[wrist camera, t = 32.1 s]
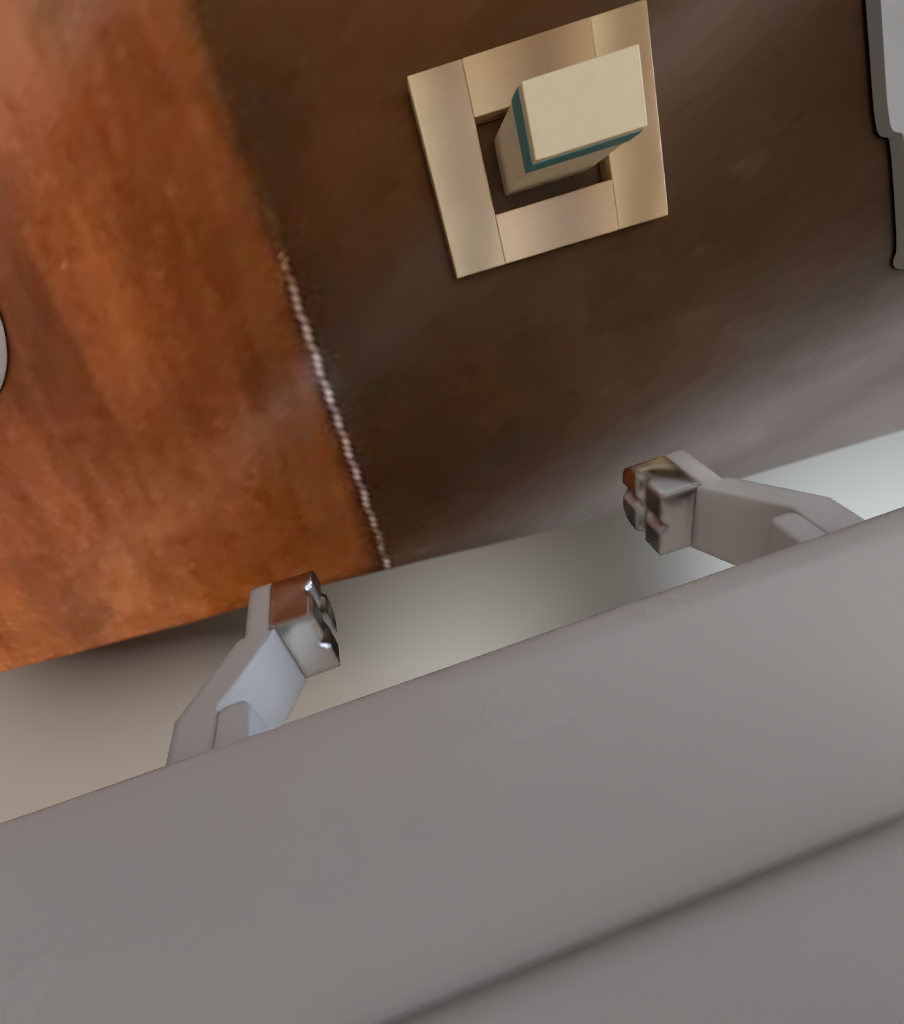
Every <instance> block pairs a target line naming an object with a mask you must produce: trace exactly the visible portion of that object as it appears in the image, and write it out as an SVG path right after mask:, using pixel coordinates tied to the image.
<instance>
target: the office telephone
mask: <svg viewBox="0 0 904 1024" xmlns="http://www.w3.org/2000/svg"><path fill="white" fill-rule="evenodd" d="M866 11H867V25H868V39H869V52H870V66H871V80H872V94H873V107H874V115H875V122H876V128H877V132H878V134H879V135H880V136H881V137H887V138H888V139H889V142H890V149H891V158H892V171H893V185H894V199H895V218H896V237H897V248H896V254H895V257H894V260H893V265H894V266H895V268H897V269H904V0H866Z"/></svg>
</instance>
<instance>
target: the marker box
mask: <svg viewBox="0 0 904 1024" xmlns="http://www.w3.org/2000/svg"><path fill="white" fill-rule="evenodd" d="M511 102H512V103H511V105H510V107H509V110H508V112H507V114H506V116H505V118H504V120H503V122H502V124H501V126H500V129H499V131H498V133H497V135H496V137H495V139H494V146H495V151H496V155H497V160H498V165H499V170H500V175H501V179H502V184H503V189H504V194H505V196H509V195H512V194H515V193H519V192H522V191H525V190H528V189H531V188H535V187H538V186H541V185H544V184H548V183H551V182H554V181H557V180H560V179H564V178H567V177H570V176H573V175H576V174H580V173H583V172H586V171H587V170H589V169H590V168H591V167H593V166H594V165H595V164H597V163H598V162H599V161H601V160H602V159H603V158H605V157H606V156H607V155H609V154H610V153H611V152H613V151H614V150H615V149H617V148H618V147H619V146H621V145H622V144H623V143H625V142H628V141H630V140H631V139H633V138H634V137H635V136H637V135H638V134H639V133H641V132H642V129H644V128H645V127H646V126H647V115H646V106H645V97H644V88H643V79H642V70H641V61H640V52H639V45H638V44H636V45H633V46H630V47H627V48H624V49H621V50H618V51H615V52H612V53H609V54H605V55H602V56H599V57H596V58H593V59H590V60H587V61H584V62H581V63H578V64H574V65H571V66H568V67H565V68H562V69H559V70H556V71H553V72H550V73H547V74H543V75H540V76H537V77H534V78H531V79H528V80H525V81H522V82H521V84H520V86H518V87H517V89H516V91H515V93H514V95H513V97H512V99H511Z"/></svg>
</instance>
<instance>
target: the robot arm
mask: <svg viewBox="0 0 904 1024" xmlns="http://www.w3.org/2000/svg"><path fill="white" fill-rule="evenodd" d="M6 366H7V345H6V338H5V332H4V328H3V325H2V321H1V318H0V389H1V386H2V384H3V381H4V377H5V373H6ZM623 483H624V484H625V485H626V486H627V487H628V489H627V491H626V492H625V494H624V496H623V505H624V510H625V513H626V516H627V518H628V520H629V521H630V523H631V524H632V525H633V527H634V528H635V529H636V530H639V531H642V532H645V533H646V541H647V542H648V543H649V544H650V545H651V546H652V547H653V548H654V549H655V551H656V552H657V553H658V554H659V555H664V554H667V553H670V552H673V551H676V550H680V549H683V548H686V547H689V546H692V547H693V548H695V549H697V550H700V551H702V552H704V553H707V554H709V555H712V556H714V557H716V558H719V559H721V560H723V561H726V562H728V563H731V564H733V565H735V566H734V567H731V568H728V569H725V570H723V571H720V572H717V573H714V574H711V575H708V576H706V577H703V578H700V579H697V580H694V581H691V582H689V583H686V584H683V585H680V586H677V587H674V588H671V589H669V590H666V591H663V592H660V593H657V594H654V595H651V596H649V597H646V598H643V599H640V600H637V601H634V602H632V603H629V604H626V605H623V606H620V607H617V608H614V609H611V610H609V611H606V612H603V613H600V614H597V615H594V616H591V617H589V618H586V619H583V620H580V621H577V622H574V623H571V624H569V625H566V626H563V627H560V628H557V629H554V630H552V631H549V632H546V633H543V634H540V635H538V636H535V637H532V638H529V639H526V640H523V641H520V642H518V643H515V644H512V645H509V646H506V647H504V648H501V649H498V650H495V651H492V652H490V653H486V654H483V655H481V656H478V657H475V658H472V659H469V660H466V661H464V662H461V663H458V664H455V665H452V666H449V667H446V668H444V669H441V670H438V671H435V672H432V673H430V674H426V675H424V676H421V677H418V678H415V679H412V680H409V681H406V682H404V683H401V684H398V685H395V686H392V687H389V688H387V689H384V690H381V691H378V692H375V693H372V694H369V695H367V696H364V697H361V698H358V699H355V700H352V701H350V702H347V703H344V704H341V705H338V706H335V707H332V708H329V709H327V710H324V711H321V712H318V713H315V714H312V715H310V716H307V717H304V718H301V719H298V720H295V721H293V722H290V723H287V724H286V722H287V720H288V718H289V716H290V713H291V711H292V710H293V707H294V705H295V703H296V701H297V699H298V697H299V695H300V693H301V691H302V689H303V687H304V685H305V683H306V679H307V678H309V677H312V676H315V675H317V674H320V673H323V672H325V671H328V670H331V669H333V668H336V667H339V666H340V659H339V649H338V643H337V641H336V639H335V638H334V635H335V633H336V632H337V628H336V621H335V617H334V613H333V609H332V607H331V604H330V602H329V600H328V598H327V596H326V595H325V594H323V593H321V590H320V582H319V580H318V578H317V576H316V574H315V573H314V572H313V571H310V572H306V573H303V574H300V575H297V576H293V577H290V578H287V579H283V580H280V581H277V582H274V583H272V584H268V585H265V586H261V587H258V588H255V589H252V591H251V592H250V594H249V604H248V614H247V625H246V634H245V639H242V640H239V641H238V643H237V644H236V645H235V647H234V648H233V649H232V650H231V652H230V653H229V654H228V655H227V657H226V658H225V659H224V660H223V662H222V663H221V664H220V666H219V667H218V668H217V669H216V671H215V672H214V673H213V675H212V676H211V677H210V678H209V680H208V681H207V682H206V683H205V685H204V686H203V687H202V688H201V690H200V691H199V692H198V694H197V695H196V696H195V697H194V699H193V700H192V701H191V703H190V704H189V705H188V706H187V708H186V709H185V710H184V711H183V713H182V714H181V715H180V717H179V718H178V719H177V720H176V722H175V724H174V729H173V734H172V739H171V744H170V748H169V753H168V758H167V763H166V766H164V767H161V768H158V769H155V770H153V771H150V772H147V773H144V774H141V775H138V776H136V777H133V778H130V779H127V780H124V781H121V782H119V783H116V784H113V785H110V786H107V787H104V788H102V789H99V790H96V791H93V792H90V793H87V794H84V795H81V796H78V797H76V798H73V799H70V800H67V801H64V802H62V803H59V804H56V805H53V806H50V807H47V808H44V809H42V810H39V811H36V812H33V813H30V814H27V815H24V816H21V817H18V818H15V819H12V820H9V821H6V822H3V823H0V1024H904V507H902V508H899V509H896V510H893V511H890V512H887V513H885V514H882V515H879V516H876V517H873V518H870V519H868V520H864V519H862V518H861V517H859V516H858V515H856V514H855V513H853V512H851V511H850V510H848V509H847V508H845V507H843V506H842V505H840V504H839V503H837V502H836V501H834V500H832V499H831V498H829V497H825V496H820V495H815V494H810V493H805V492H800V491H795V490H791V489H786V488H781V487H776V486H771V485H766V484H760V483H756V482H751V481H746V480H741V479H736V478H731V477H725V478H721V477H719V476H718V475H717V474H715V473H714V472H713V471H711V470H710V469H709V468H707V467H706V466H704V465H703V464H702V463H700V462H699V461H698V460H696V459H695V458H694V457H692V456H691V455H690V454H688V453H687V452H685V451H684V450H680V449H679V450H676V451H673V452H670V453H667V454H665V455H662V456H660V457H658V458H655V459H652V460H649V461H646V462H643V463H640V464H637V465H634V466H631V467H628V468H625V469H624V472H623Z"/></svg>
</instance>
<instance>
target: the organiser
mask: <svg viewBox="0 0 904 1024" xmlns="http://www.w3.org/2000/svg"><path fill="white" fill-rule="evenodd" d="M636 44H638V45H639V52H640V61H641V70H642V79H643V88H644V97H645V106H646V115H647V126H646V127H645V128H644V129H642V132H641V133H639V134H638V135H637V136H635V137H634V138H633V139H631V140H630V141H628V142H625V143H623V144H622V145H621V146H619V147H618V148H617V149H615V150H614V151H613V152H611V153H610V154H609V155H607V156H606V157H605V158H603V159H602V160H601V161H599V166H600V173H601V180H602V182H601V183H597V184H594V185H591V186H588V187H584V188H581V189H578V190H575V191H571V192H568V193H565V194H562V195H558V196H555V197H552V198H549V199H545V200H542V201H539V202H536V203H532V204H529V205H526V206H523V207H519V208H516V209H513V210H510V211H506V212H503V213H500V214H497V215H495V213H494V208H493V203H492V199H491V194H490V189H489V185H488V180H487V176H486V171H485V166H484V162H483V157H482V152H481V148H480V143H479V138H478V134H477V129H476V126H478V125H481V124H484V123H488V122H491V121H494V120H497V119H500V118H503V117H505V116H506V114H507V112H508V110H509V107H510V105H511V103H512V102H511V99H512V97H513V95H514V93H515V91H516V89H517V87H518V86H520V84H521V82H522V81H525V80H528V79H531V78H534V77H537V76H540V75H543V74H547V73H550V72H553V71H556V70H559V69H562V68H565V67H568V66H571V65H574V64H578V63H581V62H584V61H587V60H590V59H593V58H596V57H599V56H602V55H605V54H609V53H612V52H615V51H618V50H621V49H624V48H627V47H630V46H633V45H636ZM407 84H408V92H409V96H410V100H411V104H412V108H413V112H414V116H415V120H416V124H417V128H418V132H419V136H420V140H421V144H422V148H423V152H424V156H425V160H426V164H427V168H428V172H429V176H430V180H431V184H432V188H433V192H434V196H435V200H436V204H437V208H438V211H439V215H440V219H441V223H442V227H443V231H444V235H445V239H446V243H447V247H448V251H449V255H450V259H451V263H452V267H453V271H454V275H455V279H459V278H462V277H466V276H469V275H472V274H476V273H479V272H482V271H485V270H489V269H492V268H495V267H499V266H502V265H505V264H509V263H512V262H515V261H518V260H522V259H525V258H528V257H532V256H535V255H538V254H542V253H545V252H548V251H551V250H555V249H558V248H561V247H565V246H568V245H571V244H575V243H578V242H581V241H585V240H588V239H591V238H594V237H598V236H601V235H604V234H608V233H611V232H614V231H618V230H621V229H624V228H627V227H631V226H634V225H637V224H641V223H644V222H647V221H651V220H654V219H657V218H660V217H663V216H666V215H668V207H667V198H666V188H665V178H664V168H663V158H662V149H661V139H660V129H659V119H658V109H657V100H656V90H655V80H654V70H653V60H652V51H651V41H650V31H649V21H648V11H647V1H646V0H641V1H638V2H635V3H632V4H629V5H626V6H623V7H620V8H617V9H614V10H611V11H607V12H604V13H601V14H598V15H595V16H592V17H588V18H585V19H582V20H579V21H576V22H573V23H570V24H567V25H564V26H561V27H558V28H554V29H551V30H548V31H545V32H542V33H539V34H536V35H533V36H530V37H527V38H524V39H521V40H518V41H515V42H511V43H508V44H505V45H502V46H499V47H496V48H493V49H490V50H487V51H484V52H481V53H478V54H475V55H471V56H468V57H465V58H462V60H461V59H459V60H456V61H453V62H450V63H447V64H444V65H441V66H438V67H435V68H432V69H429V70H426V71H422V72H419V73H416V74H413V75H410V76H408V77H407Z"/></svg>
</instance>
